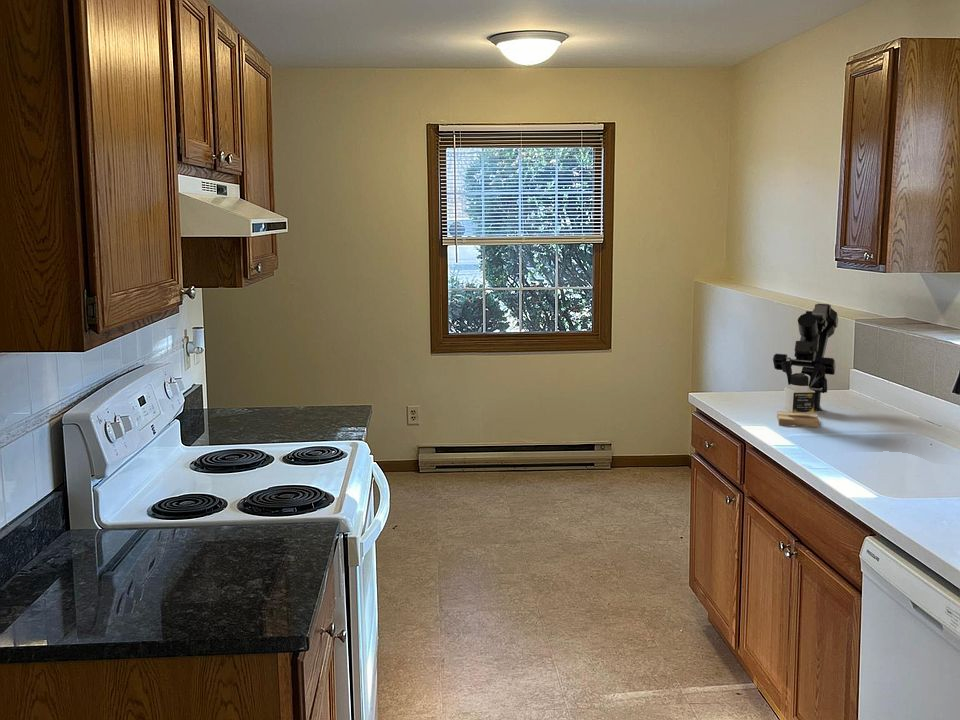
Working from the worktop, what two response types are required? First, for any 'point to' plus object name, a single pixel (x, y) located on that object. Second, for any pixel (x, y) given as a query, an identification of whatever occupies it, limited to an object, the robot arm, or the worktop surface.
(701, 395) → the worktop surface
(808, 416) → the tan flat square slab
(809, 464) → the worktop surface
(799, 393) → the medicine bottle
